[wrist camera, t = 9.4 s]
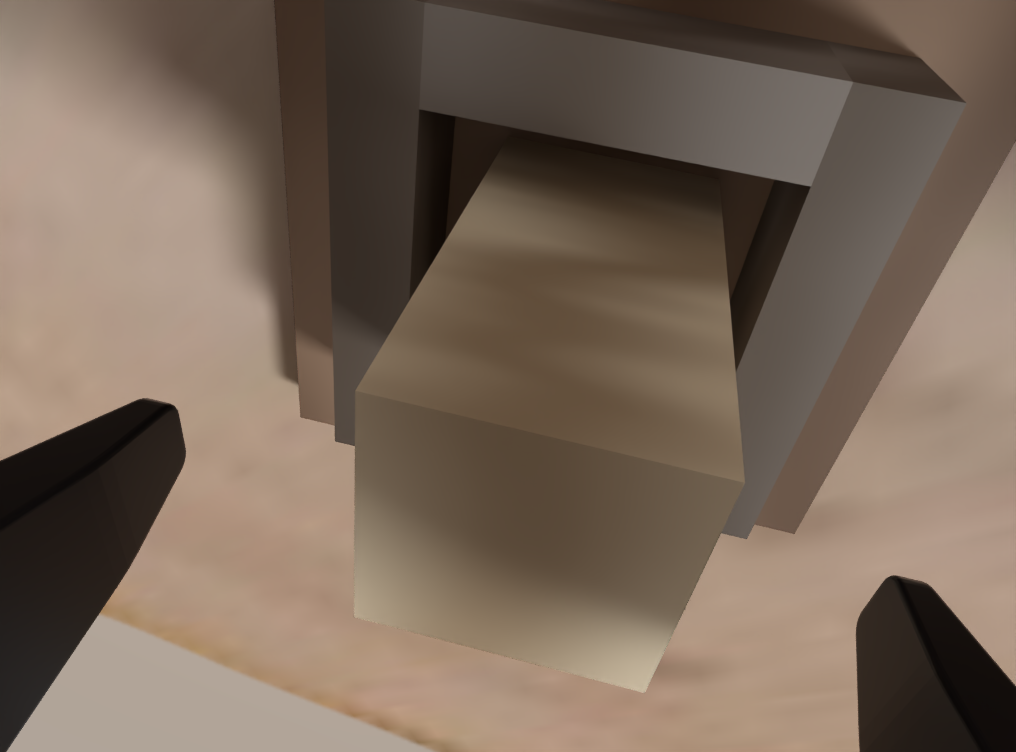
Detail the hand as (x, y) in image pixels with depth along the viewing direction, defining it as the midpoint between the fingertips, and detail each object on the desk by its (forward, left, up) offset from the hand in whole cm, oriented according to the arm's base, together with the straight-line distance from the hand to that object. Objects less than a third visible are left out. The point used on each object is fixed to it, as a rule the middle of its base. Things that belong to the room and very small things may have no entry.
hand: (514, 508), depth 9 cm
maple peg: (0, 0, -7) cm, 7 cm away
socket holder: (0, 0, -8) cm, 8 cm away
